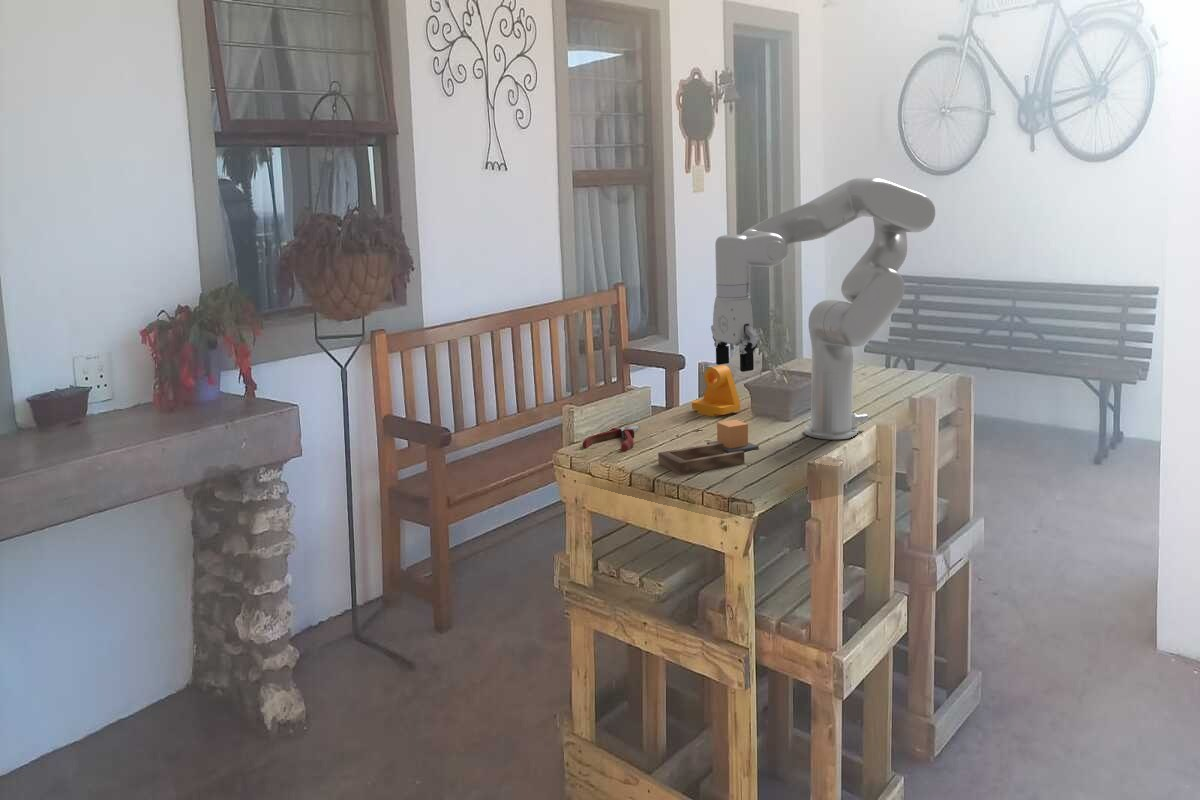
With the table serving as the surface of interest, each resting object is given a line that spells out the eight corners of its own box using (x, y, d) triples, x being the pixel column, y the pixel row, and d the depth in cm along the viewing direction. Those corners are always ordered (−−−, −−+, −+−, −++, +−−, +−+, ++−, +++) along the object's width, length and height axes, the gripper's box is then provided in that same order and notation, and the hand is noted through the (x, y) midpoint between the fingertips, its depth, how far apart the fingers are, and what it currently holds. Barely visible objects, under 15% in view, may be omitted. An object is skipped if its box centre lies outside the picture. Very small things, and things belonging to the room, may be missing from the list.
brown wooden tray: (720, 452, 233) (720, 442, 232) (744, 463, 225) (744, 451, 224) (658, 463, 226) (658, 452, 226) (680, 474, 218) (680, 463, 217)
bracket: (690, 411, 272) (689, 366, 269) (708, 406, 277) (708, 362, 274) (721, 418, 264) (721, 372, 261) (740, 413, 269) (740, 367, 266)
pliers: (656, 432, 254) (656, 422, 253) (626, 454, 236) (626, 443, 235) (613, 429, 258) (612, 419, 258) (580, 450, 240) (580, 439, 240)
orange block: (735, 440, 240) (735, 419, 239) (747, 445, 236) (747, 424, 235) (717, 443, 238) (717, 422, 237) (729, 448, 234) (729, 427, 233)
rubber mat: (736, 440, 243) (736, 437, 243) (758, 448, 235) (758, 446, 235) (707, 444, 240) (707, 442, 240) (728, 454, 232) (728, 451, 232)
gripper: (698, 289, 236) (699, 363, 240) (741, 297, 221) (742, 376, 224) (726, 286, 239) (727, 359, 243) (770, 293, 224) (770, 371, 228)
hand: (734, 367), depth 234 cm, fingers open, 9 cm apart
